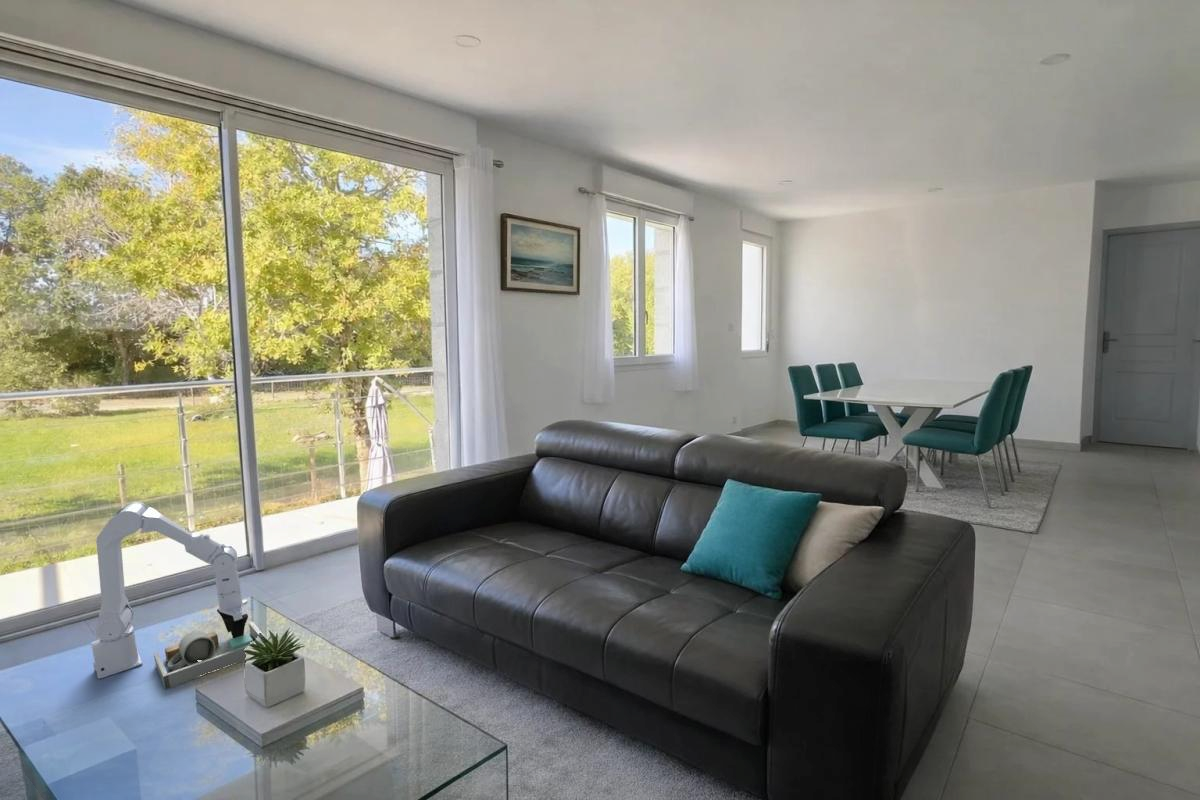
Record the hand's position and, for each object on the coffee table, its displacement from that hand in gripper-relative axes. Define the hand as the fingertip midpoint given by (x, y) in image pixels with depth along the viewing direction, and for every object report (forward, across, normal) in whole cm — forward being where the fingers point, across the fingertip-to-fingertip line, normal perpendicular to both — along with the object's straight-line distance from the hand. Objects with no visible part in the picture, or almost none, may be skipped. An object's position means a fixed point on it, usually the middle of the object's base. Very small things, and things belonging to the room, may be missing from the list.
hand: (235, 635), depth 183 cm
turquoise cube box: (+2, -7, 0) cm, 7 cm away
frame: (+2, -6, +7) cm, 9 cm away
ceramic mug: (+2, -4, +11) cm, 12 cm away
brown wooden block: (+2, +2, +10) cm, 11 cm away
